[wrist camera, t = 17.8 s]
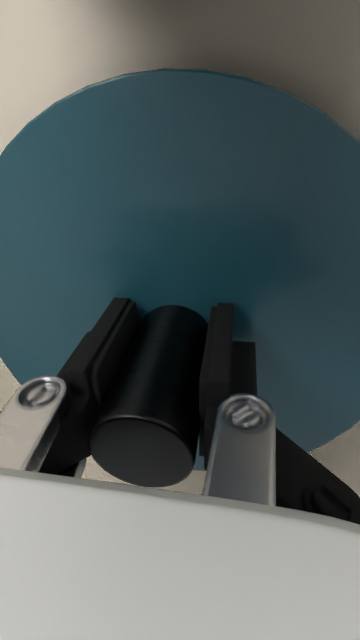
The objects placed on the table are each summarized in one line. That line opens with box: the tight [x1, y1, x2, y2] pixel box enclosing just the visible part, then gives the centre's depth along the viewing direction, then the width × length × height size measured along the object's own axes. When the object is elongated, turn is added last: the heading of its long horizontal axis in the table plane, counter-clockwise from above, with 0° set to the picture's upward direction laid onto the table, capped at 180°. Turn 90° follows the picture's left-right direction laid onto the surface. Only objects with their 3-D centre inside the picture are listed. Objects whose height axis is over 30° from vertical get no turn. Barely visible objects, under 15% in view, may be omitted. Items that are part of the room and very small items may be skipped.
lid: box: [0, 69, 360, 487], centre depth 11 cm, size 15×15×6 cm
